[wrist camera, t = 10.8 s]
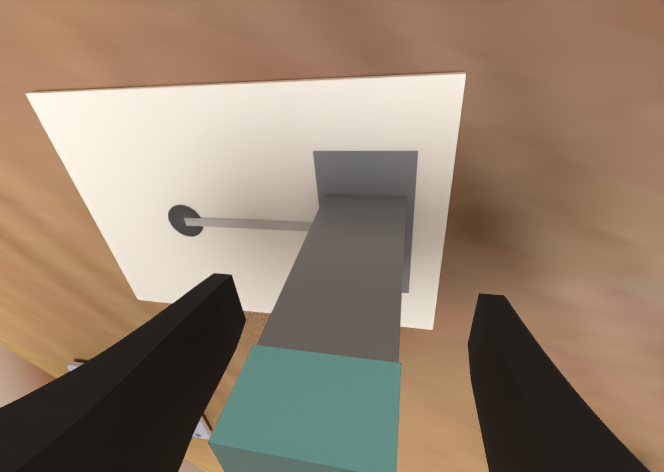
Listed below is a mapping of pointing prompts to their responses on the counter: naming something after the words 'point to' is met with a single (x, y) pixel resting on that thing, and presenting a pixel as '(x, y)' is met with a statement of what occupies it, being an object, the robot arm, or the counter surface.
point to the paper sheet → (257, 174)
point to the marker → (326, 352)
